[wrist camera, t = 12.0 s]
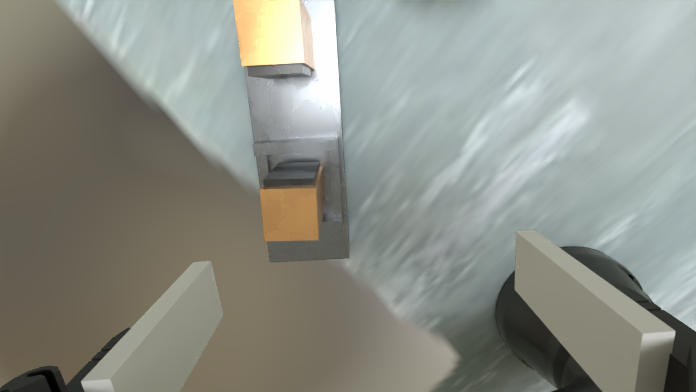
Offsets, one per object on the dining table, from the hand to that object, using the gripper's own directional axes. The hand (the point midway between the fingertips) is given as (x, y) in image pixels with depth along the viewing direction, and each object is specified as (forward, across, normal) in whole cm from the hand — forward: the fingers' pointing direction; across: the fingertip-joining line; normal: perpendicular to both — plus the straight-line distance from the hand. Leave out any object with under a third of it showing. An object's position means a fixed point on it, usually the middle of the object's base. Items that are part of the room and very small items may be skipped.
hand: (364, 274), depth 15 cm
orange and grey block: (+18, -5, 0) cm, 19 cm away
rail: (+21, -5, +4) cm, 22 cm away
